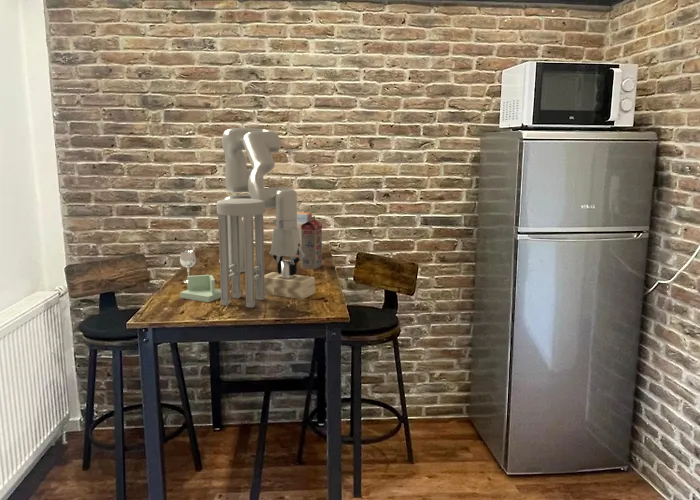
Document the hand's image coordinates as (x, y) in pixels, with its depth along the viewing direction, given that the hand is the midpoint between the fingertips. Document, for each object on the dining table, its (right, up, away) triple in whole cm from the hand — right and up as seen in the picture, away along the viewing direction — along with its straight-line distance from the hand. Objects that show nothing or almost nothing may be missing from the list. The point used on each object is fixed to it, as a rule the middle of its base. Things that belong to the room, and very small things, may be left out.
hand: (287, 273), depth 212 cm
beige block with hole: (0, -7, +1) cm, 7 cm away
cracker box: (-2, +5, +65) cm, 66 cm away
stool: (-14, -10, -10) cm, 20 cm away
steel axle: (0, -7, +1) cm, 7 cm away
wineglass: (-40, -4, +17) cm, 44 cm away
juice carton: (+6, +1, +44) cm, 45 cm away
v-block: (-29, -8, -4) cm, 31 cm away
